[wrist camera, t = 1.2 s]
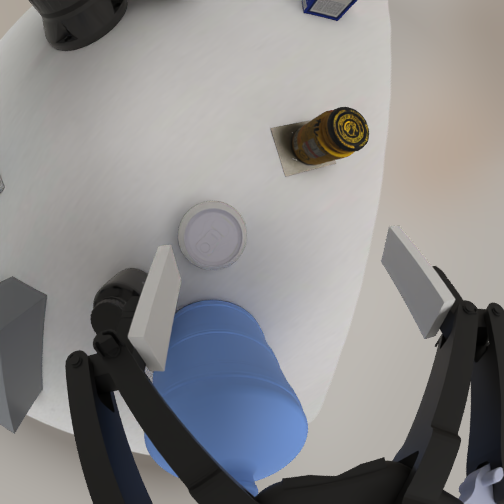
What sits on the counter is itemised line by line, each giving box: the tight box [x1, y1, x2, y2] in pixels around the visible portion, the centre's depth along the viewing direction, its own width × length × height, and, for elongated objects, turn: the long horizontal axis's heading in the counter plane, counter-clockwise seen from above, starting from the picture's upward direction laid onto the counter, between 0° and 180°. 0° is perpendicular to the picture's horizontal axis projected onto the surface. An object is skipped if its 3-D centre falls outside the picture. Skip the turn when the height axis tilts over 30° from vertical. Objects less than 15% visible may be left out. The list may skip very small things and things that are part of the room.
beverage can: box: [178, 201, 247, 270], centre depth 31 cm, size 7×7×12 cm
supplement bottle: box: [91, 268, 148, 334], centre depth 31 cm, size 7×7×12 cm
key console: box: [0, 276, 47, 433], centre depth 27 cm, size 8×21×14 cm, turn 158°
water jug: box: [144, 300, 308, 497], centre depth 27 cm, size 16×16×28 cm
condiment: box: [271, 107, 369, 176], centre depth 32 cm, size 7×8×12 cm
